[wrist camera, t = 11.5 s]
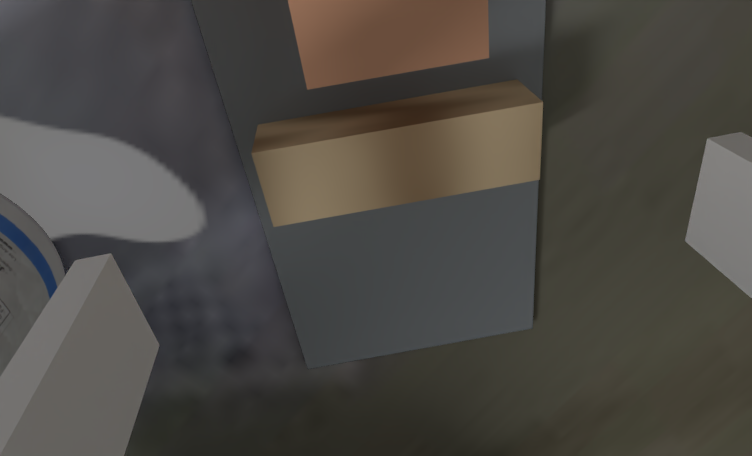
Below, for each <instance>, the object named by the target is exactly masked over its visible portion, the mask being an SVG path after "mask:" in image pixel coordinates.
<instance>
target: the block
mask: <svg viewBox="0 0 752 456" xmlns="http://www.w3.org/2000/svg"><path fill="white" fill-rule="evenodd" d="M288 4H289V8H290V13H291V17H292V22H293V27H294V31H295V36H296V40H297V45H298V49H299V54H300V58H301V63H302V68H303V72H304V77H305V81H306V86H307V90H308V89H314V88H320V87H326V86H331V85H337V84H343V83H348V82H354V81H360V80H366V79H371V78H377V77H383V76H389V75H394V74H400V73H406V72H412V71H417V70H423V69H429V68H435V67H440V66H446V65H452V64H457V63H463V62H469V61H475V60H480V59H486V58H489V23H488V0H288Z"/></svg>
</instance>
